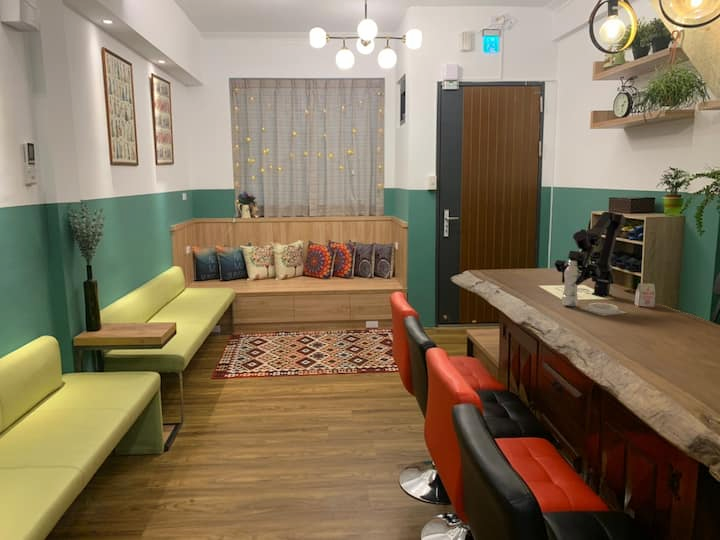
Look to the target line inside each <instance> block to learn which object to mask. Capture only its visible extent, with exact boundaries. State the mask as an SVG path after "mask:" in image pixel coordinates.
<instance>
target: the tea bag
mask: <svg viewBox="0 0 720 540" xmlns="http://www.w3.org/2000/svg"><path fill="white" fill-rule="evenodd" d="M655 288H656V286H655V283H638V284H637V288H636V290H635V296H634V304H635V305H634V306H636V305H637V306H643V307H642V308H655V299H656V289H655ZM637 306H636V307H637Z"/></svg>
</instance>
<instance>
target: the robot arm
mask: <svg viewBox="0 0 720 540" xmlns="http://www.w3.org/2000/svg"><path fill="white" fill-rule="evenodd" d="M625 223H626V217H625V216H624V214H623V213H616V212H613V211H603V212H602V213H601V215H600V217H599V219H598V220H597V222H596V223H595V224H594V225H593V227H592V228H589V229H587V230H586V229H580V230H579V231H577V232H575V233H574V234H573V235H572V239H573V241H574V243H575V245H576V248H577V249H578V250H577V251H576V250H569V252H568V255H567V259H568V260H577V268H578V269H579V272H580V275H579V278H578V280H577V283H576V285H577V286H579V285H580V284H582V283H583V282H585V281H586V280H588V279H591V282H594V287H593V292H591V295H595V296H597V297H603V298H604V297H611V296H612V295H613V294H610V292H611V291H610V290H611V285H614V284H615V276H614V273H613V266H612V264H611V261H612V257H613V253H614V248H615V244H616V241H617V237H618V233H619V232H620V231H622V230H623V228H624V225H625ZM604 232H606V233H605V237H604V242H603V245H602V249H601V252H600V256H599V257H600V258H599V260H598V261H597V262H594V264H592V263H590V259H591V257H592V256H593V255H595V249H594V247H599V246H600V245H601V243H602V241H603V237H602V235H603V234H604ZM554 266H555V268H556V270H557V272H559V273H562V274H561V275H562V277H561V283H562V284H565V278H564V271H565V269H566V268H567V267H568V266H569V265H568V262H567V261H566V260H561V259H557V260H555V262H554Z"/></svg>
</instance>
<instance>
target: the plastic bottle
mask: <svg viewBox="0 0 720 540" xmlns="http://www.w3.org/2000/svg"><path fill="white" fill-rule="evenodd" d="M567 264H568V265H569V266H568V267H567V268H566V269H565V271H564V278H565V282H564V288H563V295H562V296H561V303H562V305H563V306H565V307H576V306H577V304H578V298H579V297H578V285H576V283H577V280H578V278H579V277H580V275H581V271H579V269H578V268H577V260H570V259H568V262H567Z"/></svg>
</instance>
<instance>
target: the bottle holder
mask: <svg viewBox="0 0 720 540" xmlns="http://www.w3.org/2000/svg"><path fill="white" fill-rule="evenodd" d="M579 309H580V310H583V311H586V312H590V313H592V314H596V315H599V316H603V317H605V316H614V315H624V313H625V314H628V313H627V311H623V310H619V306H617V305H614V304H610V303H605V302H591V303H589V304H588V306H585V307H579Z"/></svg>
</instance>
